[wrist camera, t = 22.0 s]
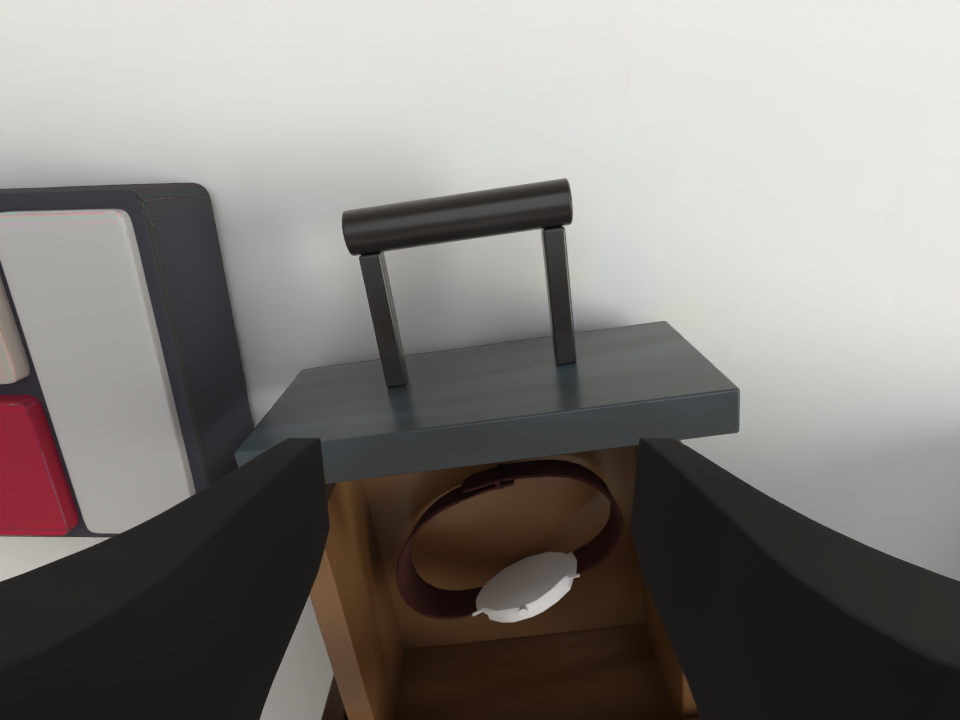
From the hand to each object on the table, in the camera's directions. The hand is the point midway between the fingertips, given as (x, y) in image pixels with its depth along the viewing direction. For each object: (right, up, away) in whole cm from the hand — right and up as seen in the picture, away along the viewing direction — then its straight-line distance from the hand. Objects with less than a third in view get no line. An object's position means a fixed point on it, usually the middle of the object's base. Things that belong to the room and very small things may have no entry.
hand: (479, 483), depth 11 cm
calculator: (-16, +3, +9) cm, 19 cm away
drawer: (+1, -1, +9) cm, 9 cm away
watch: (+1, -3, +9) cm, 10 cm away
